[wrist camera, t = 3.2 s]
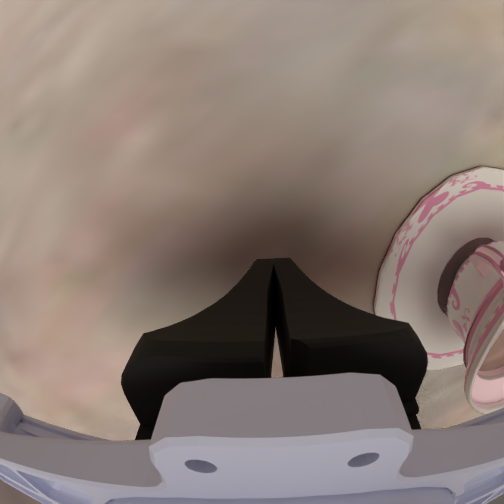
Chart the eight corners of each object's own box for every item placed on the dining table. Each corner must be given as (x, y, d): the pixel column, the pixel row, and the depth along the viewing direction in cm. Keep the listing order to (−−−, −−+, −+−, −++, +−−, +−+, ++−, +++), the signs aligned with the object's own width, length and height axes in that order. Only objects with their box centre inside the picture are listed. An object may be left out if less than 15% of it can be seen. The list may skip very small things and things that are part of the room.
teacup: (553, 269, 13) (608, 317, 7) (431, 389, 17) (462, 460, 11) (492, 114, 10) (590, 131, 4) (321, 289, 14) (349, 395, 8)
